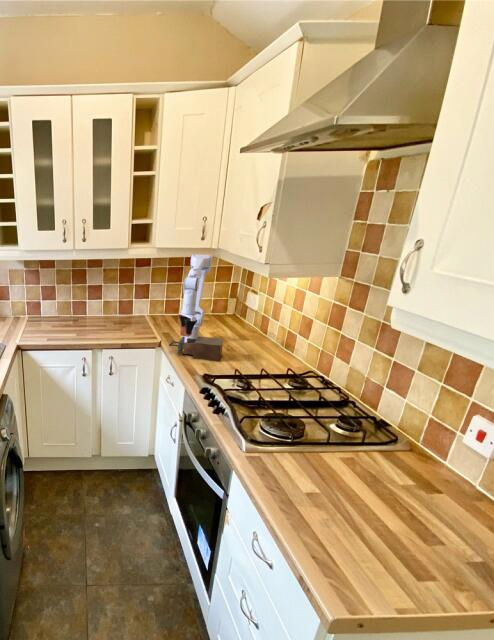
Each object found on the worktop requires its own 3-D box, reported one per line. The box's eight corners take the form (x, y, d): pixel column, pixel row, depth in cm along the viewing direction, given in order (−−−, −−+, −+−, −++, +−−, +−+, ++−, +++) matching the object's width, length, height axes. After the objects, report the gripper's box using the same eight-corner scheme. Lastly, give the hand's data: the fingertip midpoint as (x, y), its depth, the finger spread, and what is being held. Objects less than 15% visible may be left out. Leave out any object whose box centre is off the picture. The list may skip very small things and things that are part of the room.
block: (180, 335, 195) (180, 327, 193) (183, 333, 198) (184, 325, 196) (187, 336, 193) (188, 328, 191) (191, 334, 195) (192, 326, 194)
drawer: (167, 352, 195) (168, 340, 193) (171, 346, 203) (172, 335, 201) (200, 356, 190) (201, 344, 187) (203, 350, 198) (204, 339, 195)
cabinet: (192, 358, 191) (194, 342, 188) (196, 351, 200) (198, 336, 197) (218, 361, 186) (220, 345, 183) (221, 354, 195) (223, 339, 192)
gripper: (203, 307, 183) (200, 336, 188) (192, 300, 196) (189, 327, 202) (188, 307, 182) (185, 336, 188) (177, 300, 195) (175, 328, 201)
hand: (186, 332), depth 195 cm, fingers closed on block, 5 cm apart
